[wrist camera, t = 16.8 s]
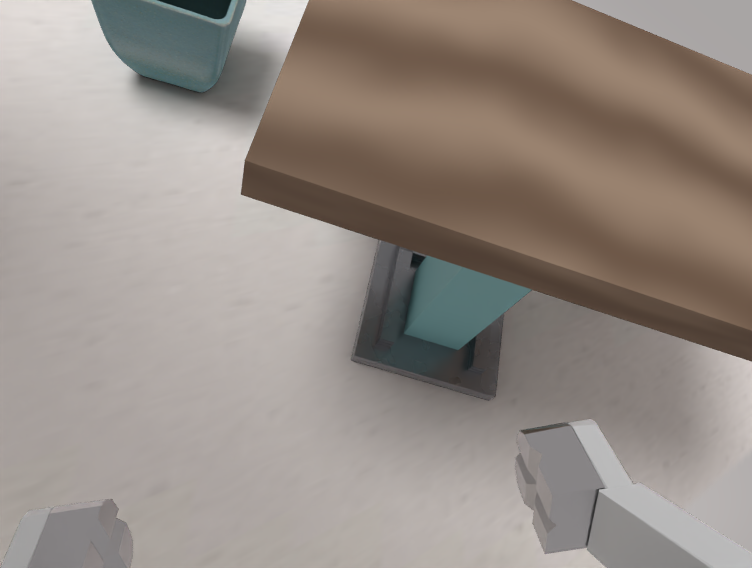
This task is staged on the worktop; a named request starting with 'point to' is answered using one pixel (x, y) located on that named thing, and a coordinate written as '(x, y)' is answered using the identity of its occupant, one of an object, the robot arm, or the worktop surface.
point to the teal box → (456, 302)
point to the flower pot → (172, 37)
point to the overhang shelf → (524, 153)
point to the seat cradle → (414, 355)
